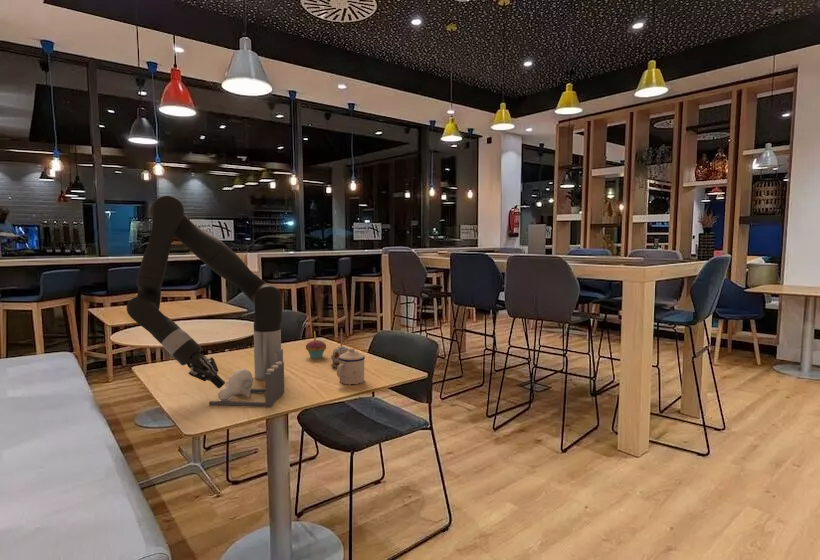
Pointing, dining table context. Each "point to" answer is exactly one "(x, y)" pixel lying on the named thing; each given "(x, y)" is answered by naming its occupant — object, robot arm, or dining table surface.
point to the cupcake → (316, 348)
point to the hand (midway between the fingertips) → (222, 385)
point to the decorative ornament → (338, 353)
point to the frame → (263, 389)
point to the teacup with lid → (351, 367)
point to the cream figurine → (237, 385)
